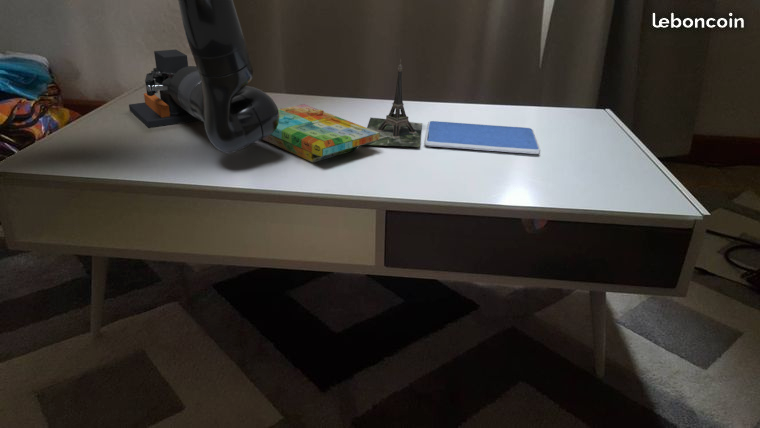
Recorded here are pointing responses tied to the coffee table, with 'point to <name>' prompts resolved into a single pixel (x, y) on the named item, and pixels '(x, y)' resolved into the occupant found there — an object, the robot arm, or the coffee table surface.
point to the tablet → (481, 137)
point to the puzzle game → (317, 133)
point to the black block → (173, 63)
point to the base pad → (158, 113)
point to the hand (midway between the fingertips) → (168, 72)
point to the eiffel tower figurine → (396, 123)
